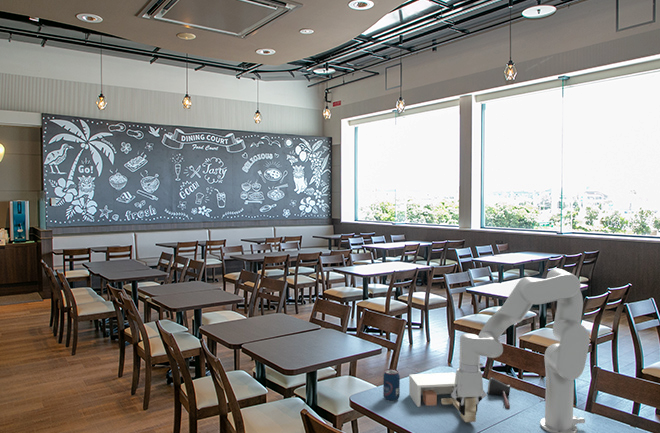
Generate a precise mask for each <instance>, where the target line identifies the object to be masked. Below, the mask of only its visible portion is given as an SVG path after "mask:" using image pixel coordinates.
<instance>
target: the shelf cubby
mask: <svg viewBox="0 0 660 433" xmlns="http://www.w3.org/2000/svg"><path fill="white" fill-rule="evenodd" d="M455 375H456V372H452V371H451V372H436V373H434V372H432V373H418V374H417V373H416V374H413V373H412V374H409V375H408V376H409V381H408V382H409V384H408V386H409V387H408V388H409V389H408V393H409V397H410V398H411V399H412V401H413V403H414V404H415V405H416V406H417V408H418V407H419V408H420V407H421V396H423V391H428V390H433V391H434V392H435V393H436V394H437V395H449V394H450V395H451V394H452V392H453V391H454V382H455ZM456 396H457V397H458V398H459V396H458V393H457V395H456Z"/></svg>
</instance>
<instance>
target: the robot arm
mask: <svg viewBox="0 0 660 433" xmlns="http://www.w3.org/2000/svg"><path fill="white" fill-rule="evenodd" d="M581 286H582V285H581V281H580V279H579V278H578V276H576V275H575V274H573V273H572V272H568V271H567V270H565V269H562V268H553V269H550V270H549V271H548V272H547V274H546V278H544V279H540V280H539V279H536V278H534V277H530V276H525V277H522V278H521V279H520V280H519V281H518V282H517V283H516V285H515V286H514V287H513V290H511V293H510V294H509V295H508V297H507V298H506V300H505V302H504V303H503V305H502V306H501V307H500V308H499V309H498V310H497V311H496V312H495V313H493V315H492V316H491V317H489V318H488V320H487V321H486V323H485V324H484V325H483V326H482V328H481V329H480V331H479V333H478V335H477V334H475V333H469V332H468V333H463V334H461V335H460V337H459V358H458V359H459V360H458V361H459V364H458V366H459V367H458V368H456V372H455V374H456V375H455V382H454V391H453V392H452V394H450V398H454V399H455V400H457V401H458V402H459V410H458V412H459V411H460V412H459V414H460V413H461V414H462V415H465V405H464V400H465V397H475V398H476V413H477V412H478V407H479V406H478V405H479V404H480V402H481V401H482V400H483V399H484V398H485V397H486V396H487V393H486V391H485V390H484V384H483V383H484V382H483V375H482V371H481V368H482V367H484V364H483V363H481V362H480V361H481V356H482V357H486V358H491V359H492V358H493V359H494V358H498V357H500V356H502V354H503V352H504V346H503V344H502V342H501V341H500V337H501V336H502V335H503V333H504V332H505V331H506V330H507V329H508V328H509V327H510V326H513V325H516V324H519V323H521V322H522V321H523V320H524V318H525V317H526V315H527V314H528V312H529V311H530V310H531V308H532V307H533V305H543V304H547V303H548V304H549V303H552V302H557V303H556V309H555V310H556V311H555V316H554V321H553V325H552V333H553V336H554V337H555V338H556V339H557V340H558V341H559V342H558V343H557V342H556V343H551V344H550V345H549V346H547V347H546V350H545V351H544V366H545V397H544V398H545V399H544V401H545V403H544V404H545V405H544V418H542V419H541V420H539V421H540V422H539V424H540V426H541V428H542V429H543V430H544V431H546V432H548V433H578V427H577V425H578V424H585V423H586V419H585V418H584V417H578V416H577V415H574V396H575V395H574V393H575V392H574V390H575V382H574V381H575V380H576V379H578V378H580V376H581V375H582V374H583V372H584V370H585V368H586V362H587V358H588V354H589V348H590V340H591V338H590V334H589V331H588V330H587V328H586V327H585V326H584V325H583V324H581V323H582V316H583V308H584V297H583V294H582V291H581ZM457 393H458V396H459V398H458V397H457V396H456V395H457Z"/></svg>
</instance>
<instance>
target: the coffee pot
mask: <svg viewBox="0 0 660 433" xmlns="http://www.w3.org/2000/svg"><path fill="white" fill-rule="evenodd" d="M510 393H511V384H506V383H504V382H502V381H501V380H498V379H497V378H495V377H492V376H490V377H489V380H488V385H487V394H488V395H502V397H503V401H504V404H503V405H502V406H503V408H506V409H508V410H509V409H510V406H511V405H510V402H509V401H510V400H508V398H507V397H510Z"/></svg>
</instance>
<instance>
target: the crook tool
mask: <svg viewBox="0 0 660 433" xmlns="http://www.w3.org/2000/svg"><path fill="white" fill-rule="evenodd" d="M440 400H441V401H440V402H441V404H442V405H453V406H454V407H455V408H456V409H457V411H458V412H459V414H460V416H459V417H460V418H461V419H462V420H463V421H464V422H465V423H476V421H477V419H476V418H477V417H476V416H477V412H476V398H475V397H465V400H464V405H465V415H462V414H461V413H460V411H459V402H458V401H457V400H455V399H454V398H452V397H445V398H443V397H442V398H441V399H440Z"/></svg>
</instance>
